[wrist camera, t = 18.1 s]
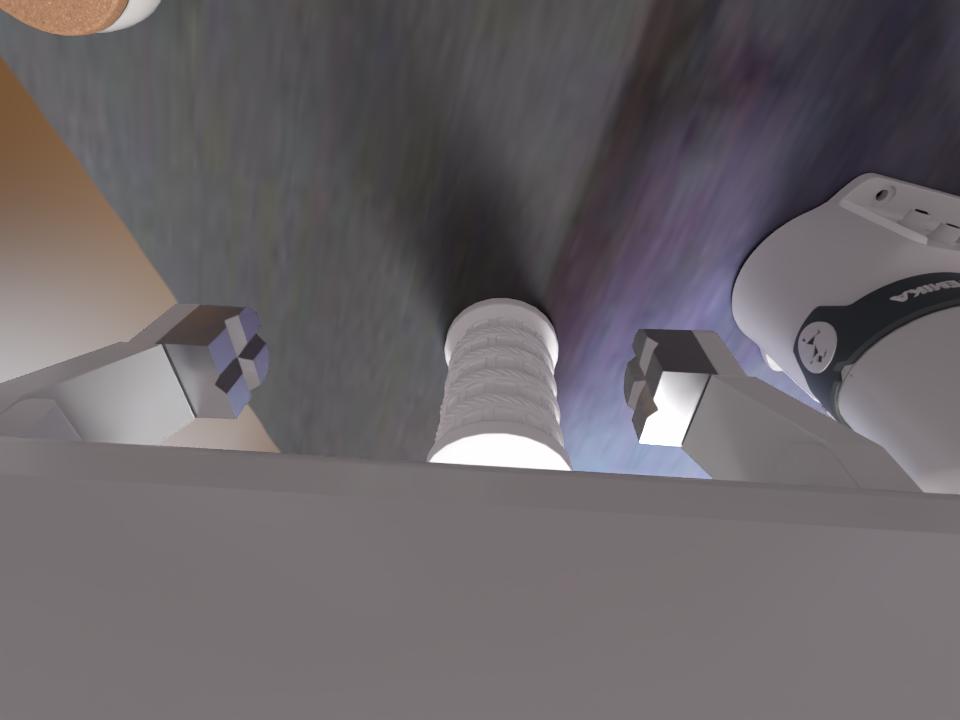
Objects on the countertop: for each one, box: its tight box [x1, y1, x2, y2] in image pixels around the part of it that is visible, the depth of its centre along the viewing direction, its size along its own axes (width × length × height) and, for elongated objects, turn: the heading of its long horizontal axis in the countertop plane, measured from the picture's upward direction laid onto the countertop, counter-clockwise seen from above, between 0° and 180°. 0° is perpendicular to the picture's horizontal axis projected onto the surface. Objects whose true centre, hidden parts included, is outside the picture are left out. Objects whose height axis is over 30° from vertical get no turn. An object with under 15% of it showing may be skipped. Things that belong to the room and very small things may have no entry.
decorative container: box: [426, 298, 573, 471], centre depth 40 cm, size 12×12×18 cm
